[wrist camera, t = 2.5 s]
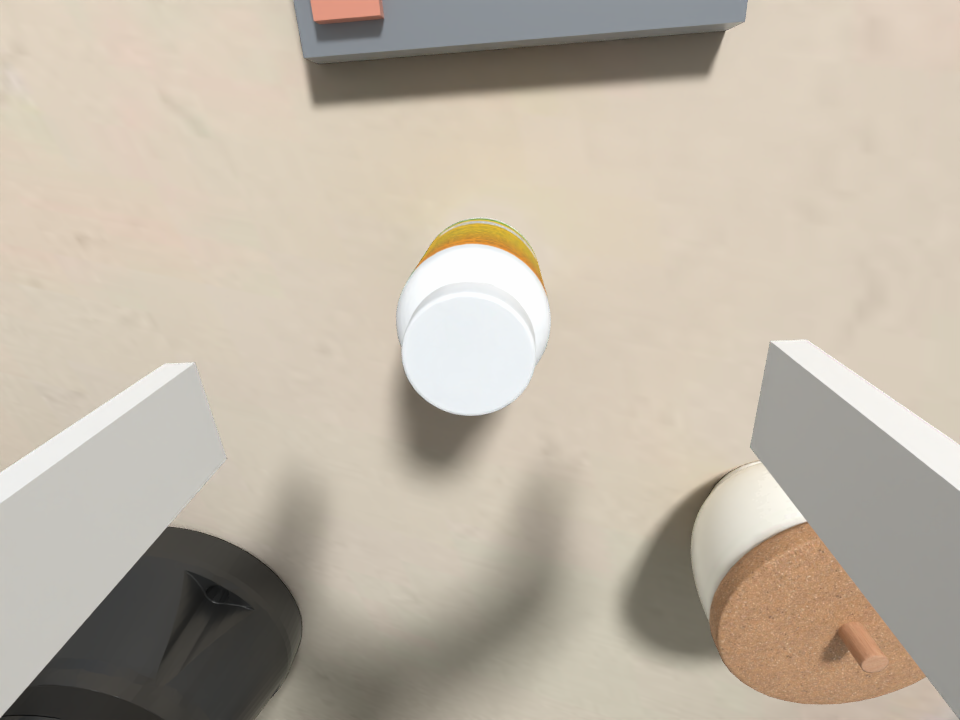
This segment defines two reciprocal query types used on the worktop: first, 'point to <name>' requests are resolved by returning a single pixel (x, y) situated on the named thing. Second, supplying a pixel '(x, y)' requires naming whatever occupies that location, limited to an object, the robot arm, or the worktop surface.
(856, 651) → the lidded jar
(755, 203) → the worktop surface
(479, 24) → the socket plate
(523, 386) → the supplement bottle
